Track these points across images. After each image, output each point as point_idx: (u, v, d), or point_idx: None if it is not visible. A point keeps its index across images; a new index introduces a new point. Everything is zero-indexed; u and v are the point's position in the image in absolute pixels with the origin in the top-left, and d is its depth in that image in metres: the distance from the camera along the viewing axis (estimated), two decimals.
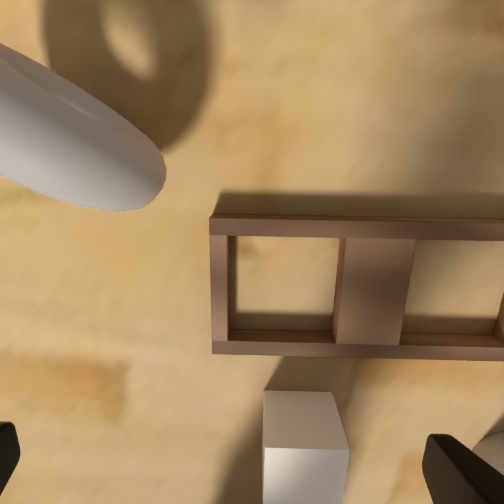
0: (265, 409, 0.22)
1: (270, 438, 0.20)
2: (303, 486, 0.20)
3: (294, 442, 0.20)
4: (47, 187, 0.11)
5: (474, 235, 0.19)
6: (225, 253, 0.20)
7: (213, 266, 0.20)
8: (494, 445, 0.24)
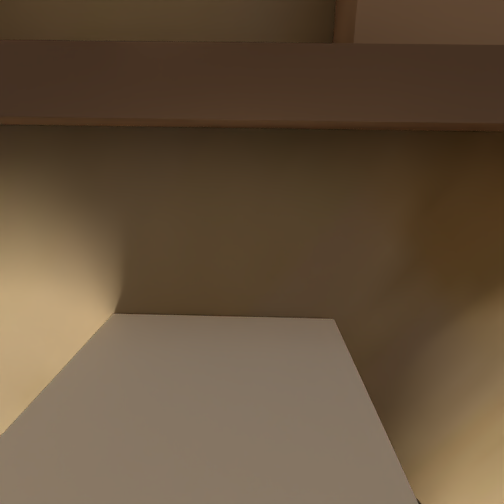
0: (69, 367, 0.06)
1: None
2: None
3: None
4: None
5: None
6: None
7: None
8: None
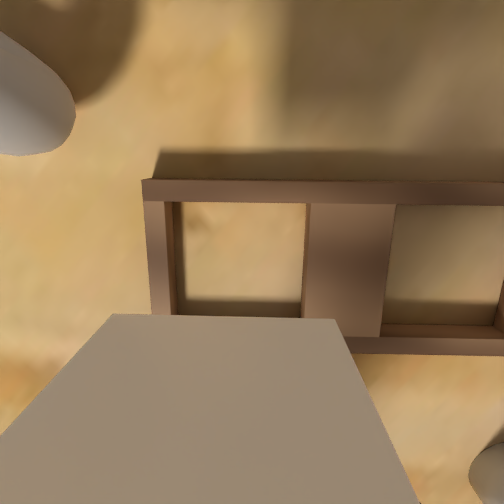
0: (69, 367, 0.06)
1: None
2: None
3: None
4: None
5: (467, 199, 0.15)
6: (163, 224, 0.16)
7: (150, 240, 0.16)
8: (497, 458, 0.20)
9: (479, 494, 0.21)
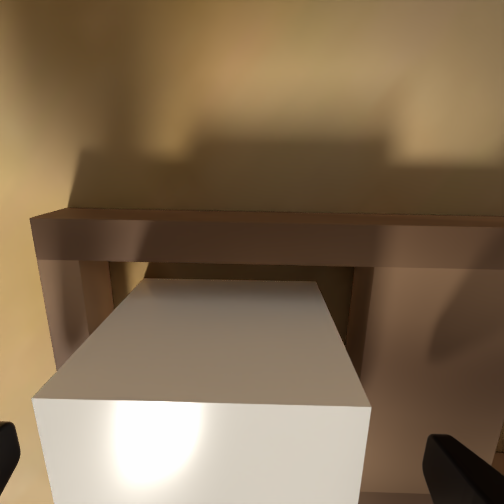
0: (120, 307, 0.08)
1: (79, 371, 0.05)
2: None
3: (161, 381, 0.05)
4: None
5: None
6: (81, 302, 0.08)
7: (58, 330, 0.08)
8: None
9: None
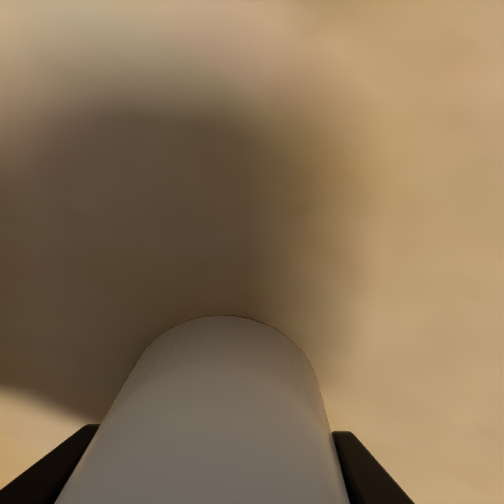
0: None
1: None
2: None
3: None
4: None
5: None
6: None
7: None
8: None
9: None
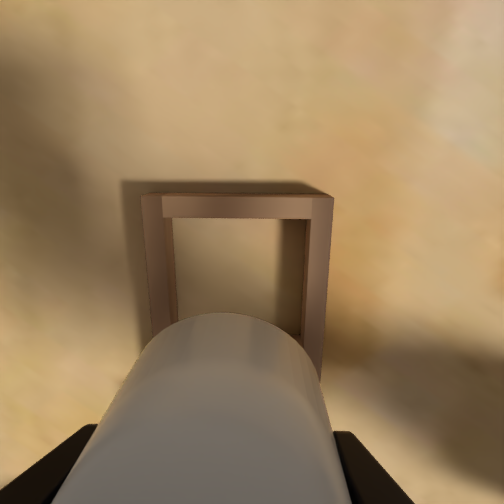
0: None
1: None
2: None
3: None
4: None
5: (162, 289, 0.17)
6: None
7: None
8: None
9: None
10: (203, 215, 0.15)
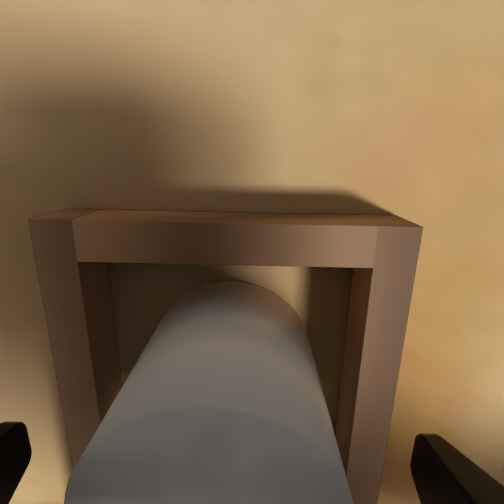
0: None
1: None
2: None
3: None
4: None
5: (85, 391, 0.09)
6: None
7: None
8: None
9: None
10: (157, 258, 0.08)
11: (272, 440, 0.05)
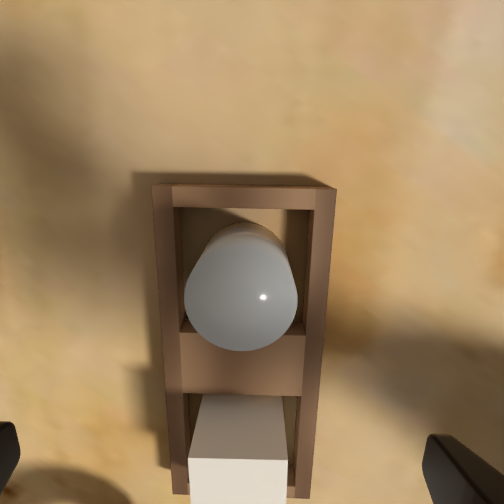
0: None
1: None
2: (246, 498, 0.17)
3: None
4: None
5: (171, 276, 0.17)
6: None
7: None
8: None
9: None
10: (211, 205, 0.16)
11: (265, 260, 0.13)
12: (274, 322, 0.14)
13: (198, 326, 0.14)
